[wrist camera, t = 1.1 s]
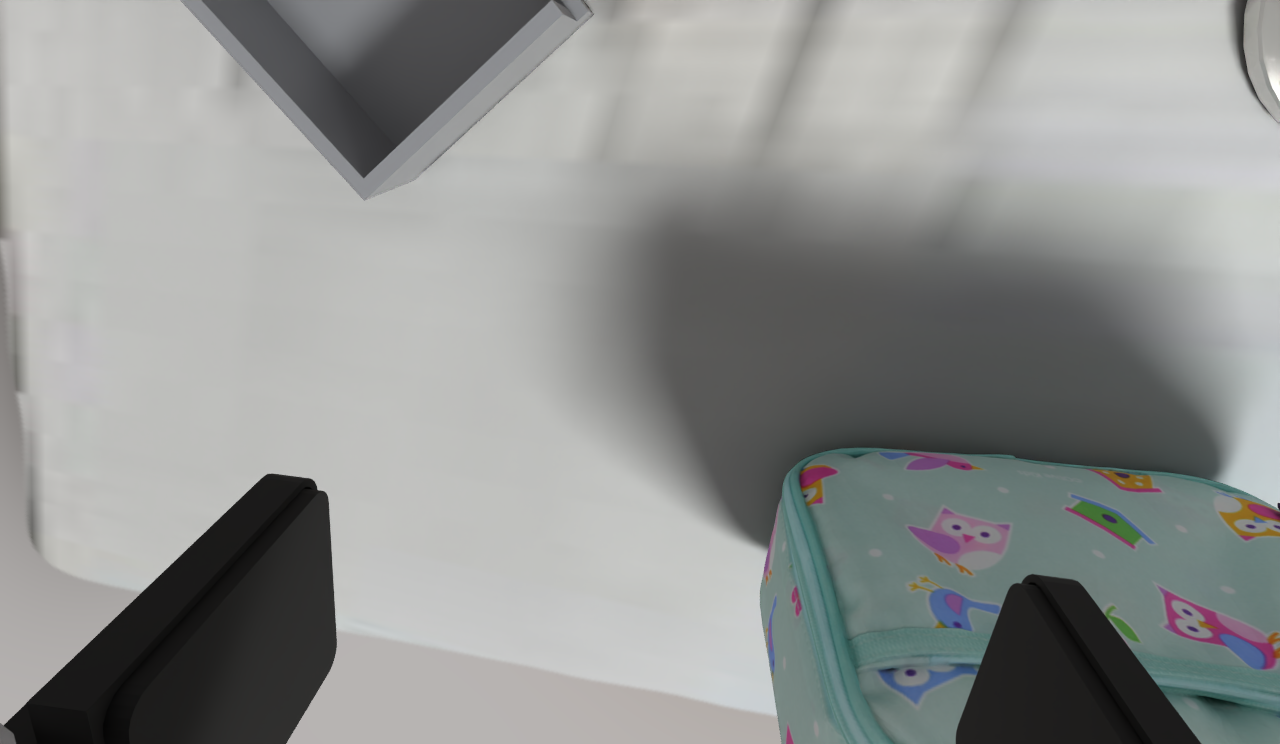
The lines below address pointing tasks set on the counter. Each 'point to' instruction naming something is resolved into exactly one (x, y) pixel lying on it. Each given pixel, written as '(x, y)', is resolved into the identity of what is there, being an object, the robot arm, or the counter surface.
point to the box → (388, 70)
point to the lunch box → (984, 571)
